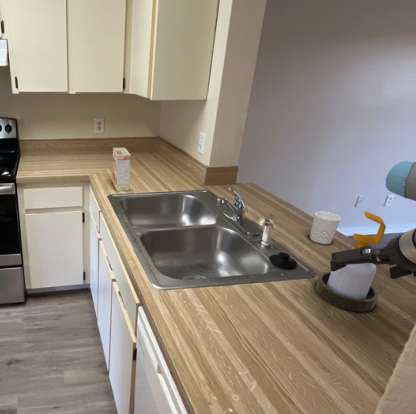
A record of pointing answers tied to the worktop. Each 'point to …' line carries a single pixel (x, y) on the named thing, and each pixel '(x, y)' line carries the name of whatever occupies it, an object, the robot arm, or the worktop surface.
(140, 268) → the worktop surface
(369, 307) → the holder
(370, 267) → the soap bottle
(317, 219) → the white cup
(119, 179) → the coffeecake box
